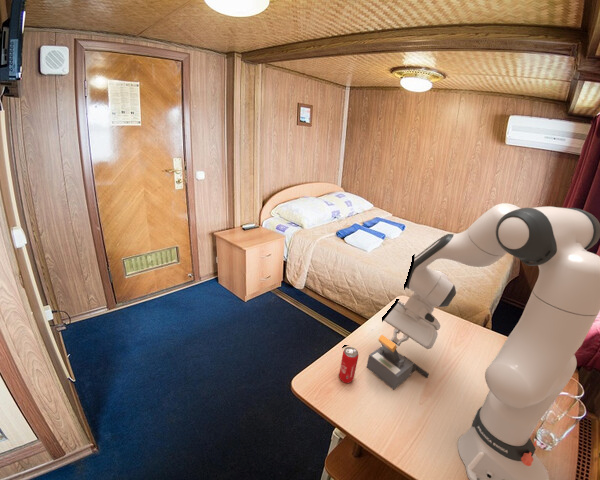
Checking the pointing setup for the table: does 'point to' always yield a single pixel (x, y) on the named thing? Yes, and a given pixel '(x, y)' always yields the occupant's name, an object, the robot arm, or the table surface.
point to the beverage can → (348, 364)
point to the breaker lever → (389, 349)
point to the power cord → (418, 369)
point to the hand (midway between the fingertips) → (394, 343)
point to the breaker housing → (389, 368)
